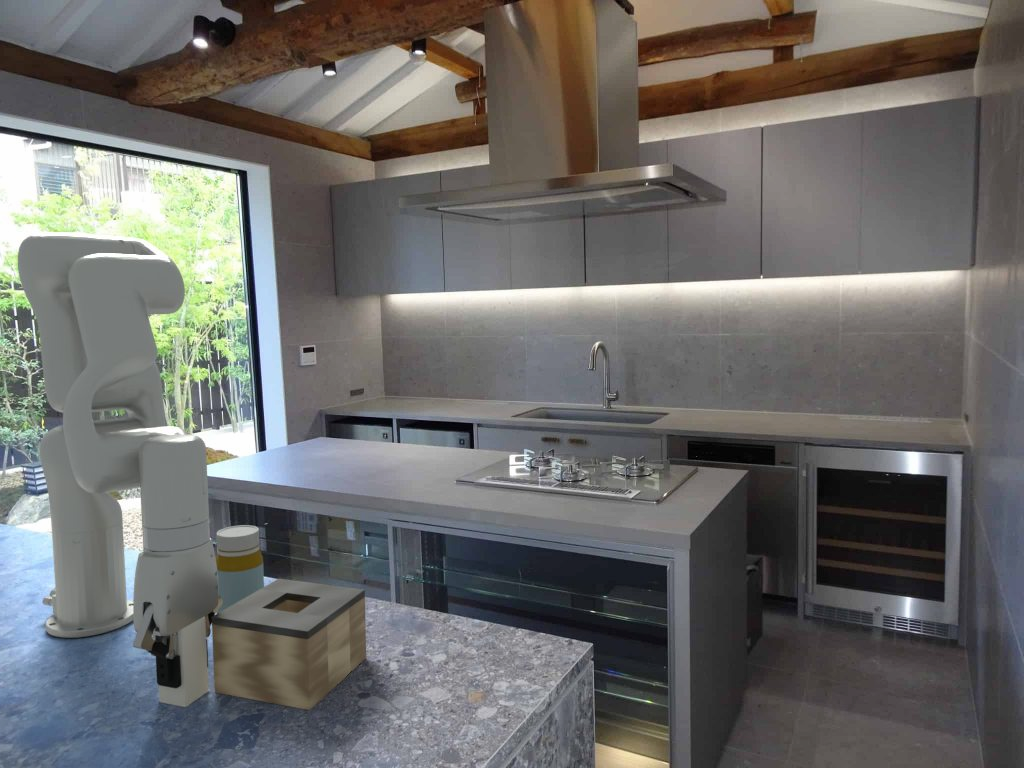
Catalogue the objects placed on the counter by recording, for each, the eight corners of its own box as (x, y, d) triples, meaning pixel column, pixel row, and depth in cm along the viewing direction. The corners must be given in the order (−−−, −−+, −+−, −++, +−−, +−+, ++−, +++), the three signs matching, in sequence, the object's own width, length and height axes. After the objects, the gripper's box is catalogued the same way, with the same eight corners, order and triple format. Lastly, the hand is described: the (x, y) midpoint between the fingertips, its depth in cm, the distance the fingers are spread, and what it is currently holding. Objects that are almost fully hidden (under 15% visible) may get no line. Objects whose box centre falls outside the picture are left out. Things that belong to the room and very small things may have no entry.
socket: (214, 692, 92) (211, 616, 91) (280, 644, 106) (278, 578, 105) (309, 710, 88) (307, 631, 87) (366, 658, 101) (364, 589, 101)
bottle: (249, 636, 108) (245, 539, 107) (207, 632, 110) (203, 536, 108) (273, 617, 115) (270, 525, 114) (234, 613, 117) (230, 523, 115)
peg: (159, 702, 90) (155, 624, 89) (182, 686, 94) (179, 612, 93) (185, 707, 89) (182, 629, 88) (208, 691, 93) (205, 616, 92)
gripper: (199, 514, 98) (205, 643, 100) (95, 553, 83) (104, 706, 84) (246, 519, 96) (251, 651, 98) (148, 560, 80) (156, 716, 82)
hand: (183, 675), depth 91 cm, fingers closed on peg, 4 cm apart
